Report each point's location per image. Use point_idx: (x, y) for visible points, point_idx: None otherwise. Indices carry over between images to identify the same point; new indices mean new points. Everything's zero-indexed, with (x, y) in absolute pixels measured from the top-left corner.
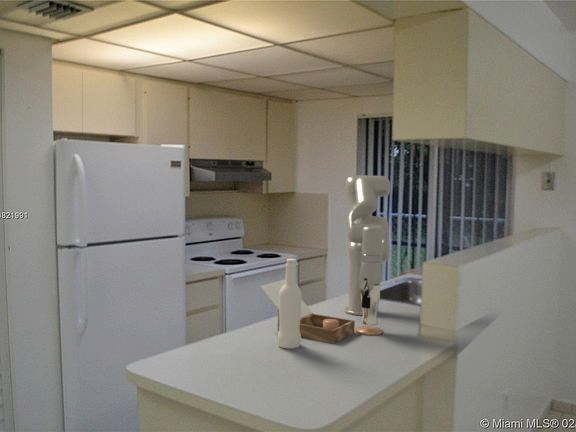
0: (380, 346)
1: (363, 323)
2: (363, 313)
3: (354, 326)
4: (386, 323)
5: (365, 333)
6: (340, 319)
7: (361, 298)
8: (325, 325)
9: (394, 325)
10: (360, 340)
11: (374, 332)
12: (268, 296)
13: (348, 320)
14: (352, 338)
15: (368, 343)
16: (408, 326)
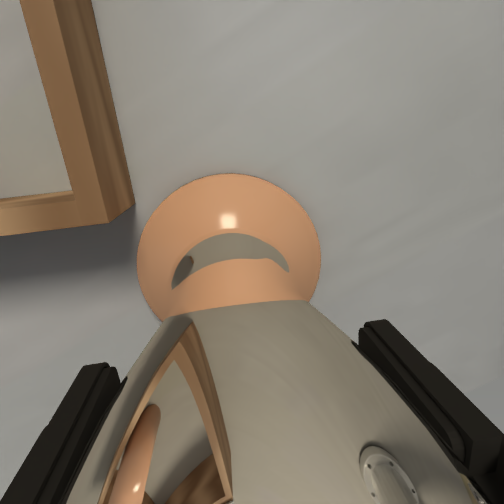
0: (29, 446)
1: (169, 275)
2: (174, 299)
3: (122, 212)
4: (486, 238)
5: (143, 291)
6: (42, 68)
7: (121, 396)
8: None
9: (466, 295)
10: (21, 325)
11: None
12: None
13: (67, 170)
14: (10, 269)
15: (14, 384)
16: (485, 356)
